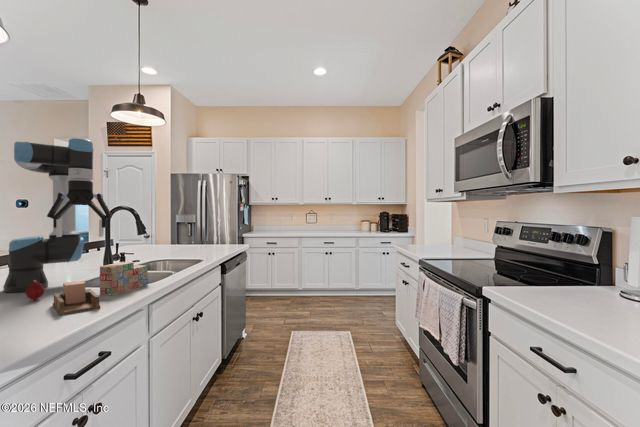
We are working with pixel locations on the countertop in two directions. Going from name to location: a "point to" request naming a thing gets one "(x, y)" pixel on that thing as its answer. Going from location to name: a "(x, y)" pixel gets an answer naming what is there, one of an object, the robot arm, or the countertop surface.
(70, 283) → the block
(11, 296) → the countertop surface
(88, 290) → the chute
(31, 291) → the onion
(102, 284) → the stack of blocks
